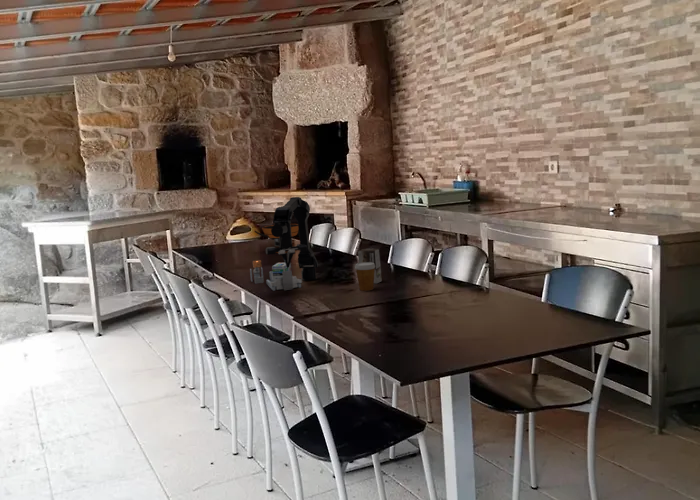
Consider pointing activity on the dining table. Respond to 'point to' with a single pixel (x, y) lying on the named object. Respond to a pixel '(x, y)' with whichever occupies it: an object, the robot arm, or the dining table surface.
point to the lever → (256, 266)
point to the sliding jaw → (286, 281)
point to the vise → (261, 280)
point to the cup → (268, 234)
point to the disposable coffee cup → (365, 275)
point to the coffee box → (373, 257)
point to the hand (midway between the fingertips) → (287, 267)
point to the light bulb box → (279, 270)
